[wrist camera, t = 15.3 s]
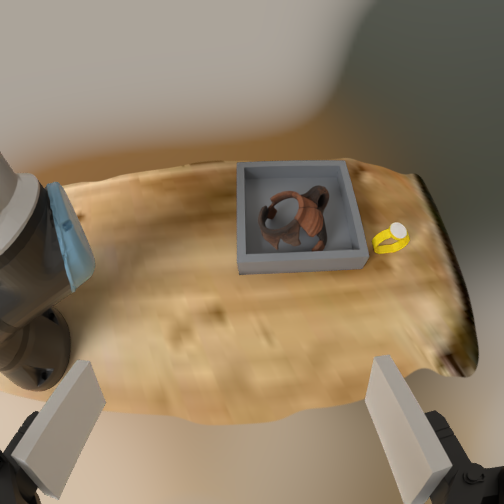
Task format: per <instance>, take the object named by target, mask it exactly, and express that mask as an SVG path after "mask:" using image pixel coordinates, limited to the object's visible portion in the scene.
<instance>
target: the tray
mask: <svg viewBox="0 0 504 504" xmlns="http://www.w3.org/2000/svg"><path fill="white" fill-rule="evenodd" d="M317 185H320V186H323V187H325V188H326V189H327V190H328V192H329V201H328V204H327V206H326V208H325V209H324V212H323V217H324V220H325V226H326V232H327V243H326V246H325V248H324V249H323V251H313V252H312V251H311V250H312V248H313V247H314V246H315V245H316V244H317V243H318V241H319V237H318V236H317V235H316V236H314V237H310V236H308V234H307V233H306V231H305V230H304V229H303V228H302V227H300V231H299V240H300V242H301V244H300V245H299V246H292V245H291V244H287V243H285V242H283V240H282V239H280V242H279V245H278V248H279V249H278V250H276V249H275V248H274V247H273V246H272V245H271V244H270V243H269V242H267V241H266V240H265V239H264V238H263V236H262V234H261V229H260V227H259V224H258V216H259V212H260V210H261V208H262V207H264V206H265V205H266V206H267V207H269V206H270V205H271V204H272V202H271V200H270V198H271V197H273V196H274V195H276V194H278V193H281V192H283V191H295V192H297V193H299V194H300V195H301V194H305V193H306V192H308V191H309V190H310V189H311V188H312V187H314V186H317ZM274 208H275V209H276V210H277V213H276V215H275V217H274V218H273V219H268V218H267V220H266V222H265V225H266V227H267V228H269V229H274V230H275V229H280V228H282V227H284V226H286V225H288V224H289V223H290V222H291V221H292V220H293V219H294V217H295V216H296V214H297V212H298V209H299V204H298V201H297V200H296V199H295V198H288V199H285V200H283V201H281V202H279V203H278V204H276V205H275V206H274ZM368 258H369V252H368V248H367V243H366V239H365V234H364V230H363V226H362V222H361V218H360V214H359V210H358V206H357V202H356V198H355V194H354V191H353V187H352V183H351V180H350V176H349V173H348V169H347V166H346V163H345V161H329V160H306V161H261V162H239V163H237V265H238V271H239V275H246V274H271V273H293V272H313V271H332V270H350V269H362V268H363V266H364V265H365V263H366V261H367V260H368Z"/></svg>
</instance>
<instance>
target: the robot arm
mask: <svg viewBox="0 0 504 504" xmlns="http://www.w3.org/2000/svg"><path fill="white" fill-rule="evenodd" d="M94 269H95V259H94V256H93V253H92V250H91V248H90V245H89V243H88V240H87V238H86V236H85V233H84V231H83V229H82V226H81V224H80V222H79V220H78V217H77V215H76V213H75V211H74V209H73V206H72V204H71V202H70V200H69V198H68V196H67V194H66V192H65V191H64V189H63V187H62V186H61V185H60V184H59V183H58V182H53V183H50V184H47V186H46V187H45V188H43V186H42V185H41V184H40V182H39V181H38V179H37V178H36V177H35V176H34V175H33V174H30V173H14V171H13V170H12V168H11V167H10V165H9V164H8V162H7V161H6V160H5V158H4V157H3V155H2V154H1V152H0V372H1V373H2V374H3V375H5V376H6V377H7V378H8V379H9V380H11V381H12V382H13V383H14V384H16V385H17V386H19V387H21V388H23V389H27V390H31V391H44V390H47V389H49V388H51V387H52V386H54V385H55V384H56V383H57V382H58V381H59V380H60V378H61V377H62V375H63V373H64V372H65V369H66V367H67V364H68V361H69V356H70V334H69V330H68V326H67V324H66V321H65V320H64V318H63V316H62V315H61V314H60V312H59V311H58V310H56V309H55V308H54V307H52V306H54V305H55V304H57V303H58V302H59V301H61V300H62V299H64V298H65V297H67V296H68V295H70V294H71V293H73V292H75V291H76V289H77V288H78V287H79V286H80V285H81V284H83V283H84V282H85V281H86V280H88V279H89V278H90V277H91V276H92V274H93V272H94ZM365 402H366V405H367V407H368V410H369V412H370V415H371V417H372V420H373V422H374V425H375V427H376V430H377V432H378V435H379V437H380V440H381V443H382V445H383V448H384V451H385V453H386V456H387V458H388V461H389V464H390V467H391V469H392V472H393V475H394V477H395V480H396V483H397V486H398V488H399V491H400V494H401V497H402V500H403V503H404V504H424V503H425V502H426V501H427V500H428V498H429V497H430V499H431V501H432V504H504V466H501V467H495V468H483V467H482V466H481V465H479V464H477V463H471V461H470V460H469V458H468V457H467V455H466V453H465V451H464V450H463V448H462V446H461V444H460V443H459V441H458V439H457V438H456V436H455V435H454V433H453V431H452V429H451V428H450V426H449V425H448V423H447V421H446V419H445V418H444V417H443V416H442V415H441V414H439V413H438V412H437V411H431V412H427V413H424V412H423V411H422V409H421V407H420V405H419V404H418V402H417V400H416V398H415V397H414V395H413V393H412V392H411V390H410V388H409V386H408V385H407V383H406V381H405V380H404V378H403V376H402V375H401V373H400V371H399V370H398V368H397V366H396V365H395V363H394V361H393V360H392V358H391V357H390V355H384V356H377V357H374V360H373V365H372V370H371V375H370V380H369V384H368V389H367V393H366V397H365ZM105 404H106V401H105V399H104V396H103V394H102V391H101V389H100V386H99V384H98V381H97V379H96V376H95V373H94V371H93V368H92V365H91V362H90V361H85V360H77V361H76V362H75V364H74V365H73V366H72V368H71V369H70V370H69V372H68V373H67V374H66V376H65V377H64V378H63V380H62V381H61V382H60V384H59V385H58V387H57V388H56V389H55V391H54V392H53V394H52V395H51V396H50V398H49V399H48V401H47V402H46V404H45V405H44V406H43V408H42V409H41V411H40V412H38V411H35V412H33V413H32V414H31V415H29V416H28V417H27V419H26V420H25V421H24V423H23V424H22V427H20V428H19V430H18V432H17V433H16V434H15V436H14V437H13V439H12V440H11V442H10V443H9V445H8V446H7V448H6V449H5V451H4V452H3V453H2V451H1V450H0V504H41V502H40V499H39V496H38V494H37V493H36V490H37V488H39V489H40V490H41V491H42V492H43V493H44V494H45V495H47V496H50V497H52V498H55V499H57V500H59V498H60V496H61V493H62V492H63V489H64V487H65V485H66V483H67V480H68V479H69V476H70V474H71V472H72V470H73V468H74V466H75V464H76V462H77V459H78V457H79V455H80V453H81V451H82V449H83V447H84V445H85V443H86V441H87V439H88V437H89V435H90V433H91V431H92V429H93V427H94V425H95V423H96V421H97V419H98V417H99V415H100V413H101V411H102V410H103V408H104V406H105Z"/></svg>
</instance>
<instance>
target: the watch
mask: <svg viewBox="0 0 504 504" xmlns="http://www.w3.org/2000/svg"><path fill="white" fill-rule="evenodd" d="M391 237H392V238H393V239H395V240H398V242H396V243H393V244H390V245H381V246H378V244H379V243H381V242H383V241H384V240H386V239H388V238H391ZM409 241H410V238H409V235H408V232H407V229H405V227H404V226H403V225H402V224H400V223H397V222H395V223H392V224H391V225H390V227H389V229H386V230H384V231H381V232H380V233H378V234H377V235H376V236H375V237H374V238H373V240H372V245H373V249H374V252H376V253H378V254H382V253H391V252H393V253H394V252H396V251H398V250H401V249H402V248H404V247H405V246H406V245H407V244H408V243H409Z"/></svg>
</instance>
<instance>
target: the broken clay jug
mask: <svg viewBox="0 0 504 504" xmlns="http://www.w3.org/2000/svg"><path fill="white" fill-rule="evenodd" d="M288 198H295V199H296V200H297V201H298V204H299V209H298V212H297V214H296V216H295V217H294V219H293V220H292V221H291V222H290V223H289V224H288V225H286V226H284V227H282V228H280V229H275V230H274V229H269V228H267V227H266V225H265V222H266V220H267V218H268V219H273V218H274V217H275V215H276V213H277V210H276V209H275V208H274V206H275V205H276V204H278V203H279V202H281V201H283V200H285V199H288ZM270 200H271V202H272V204H271V205H270V206H269V207H267V206H266V205H265V206H264V207H262V208H261V210H260V212H259V216H258V224H259V227H260V229H261V234H262V236H263V238H264V239H265V240H266V241H267V242H269V243H270V244H271V245H272V246H273V247H274V248H275V249H276V250H278V249H279V248H278V245H279V242H280V239H282V240H283V242H285V243H287V244H291V245H292V246H299V245H300V244H301V242H300V240H299V231H300V227H302V228H303V229H304V230H305V231H306V233H307V234H308V236H310V237H314V236H316V235H317V236H318V237H319V241H318V243H317V244H316V245H315V246H314V247H313V248H312V250H311V251H312V252H313V251H323V249H324V248H325V246H326V243H327V232H326V226H325V220H324V217H323V212H324V209H325V208H326V206H327V204H328V201H329V192H328V190H327V189H326V188H325V187H323V186H320V185H317V186H314V187H312V188H311V189H310V190H309V191H308V192H306V193H305V194H301V195H300V194H299V193H297V192H295V191H283V192H281V193H278V194H276V195H274V196H273V197H271V198H270Z"/></svg>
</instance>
